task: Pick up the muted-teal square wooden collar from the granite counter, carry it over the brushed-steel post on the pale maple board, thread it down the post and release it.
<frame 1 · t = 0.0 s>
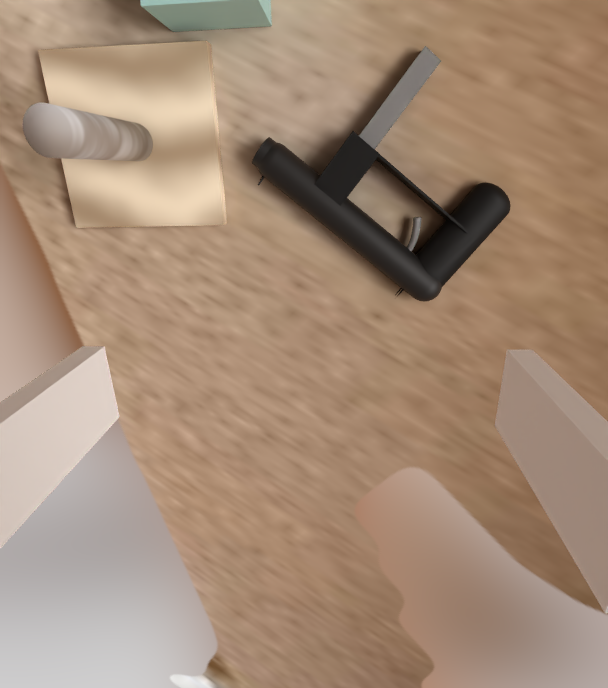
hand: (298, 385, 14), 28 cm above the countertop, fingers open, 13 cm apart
black toy gun: (392, 172, 38), on the countertop
peg stand: (141, 143, 38), on the countertop
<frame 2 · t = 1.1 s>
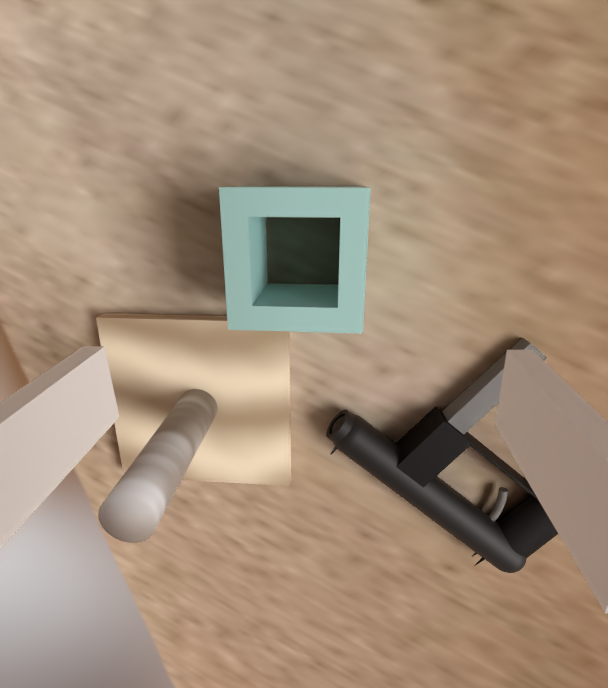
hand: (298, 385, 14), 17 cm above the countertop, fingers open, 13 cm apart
black toy gun: (476, 438, 35), on the countertop
peg stand: (202, 399, 35), on the countertop
collar: (302, 248, 30), on the countertop
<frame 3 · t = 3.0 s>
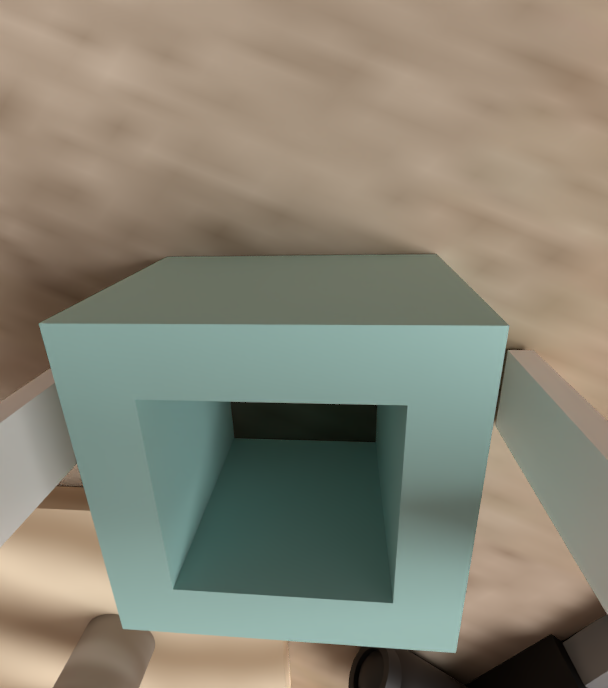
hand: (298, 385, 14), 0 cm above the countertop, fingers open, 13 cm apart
peg stand: (133, 611, 20), on the countertop
collar: (301, 376, 14), on the countertop
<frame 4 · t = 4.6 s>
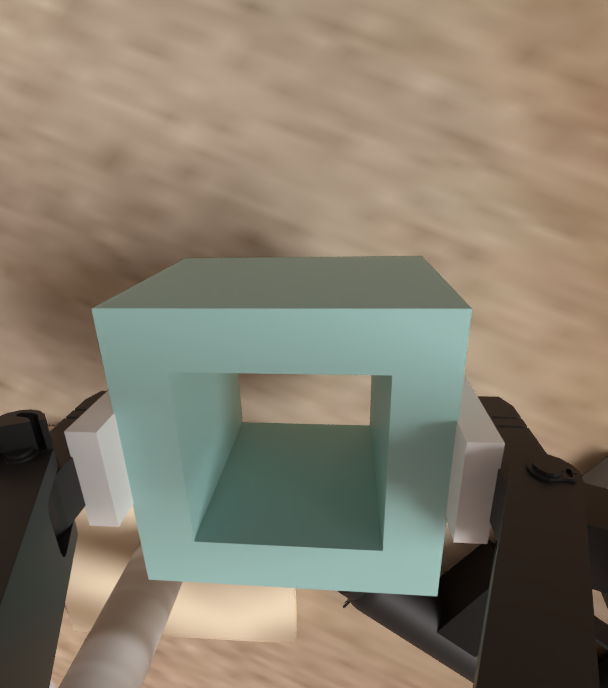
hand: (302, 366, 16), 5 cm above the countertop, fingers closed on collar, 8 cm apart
black toy gun: (542, 574, 25), on the countertop
peg stand: (174, 532, 25), on the countertop
collar: (303, 365, 16), point 5 cm above the countertop, touching gripper
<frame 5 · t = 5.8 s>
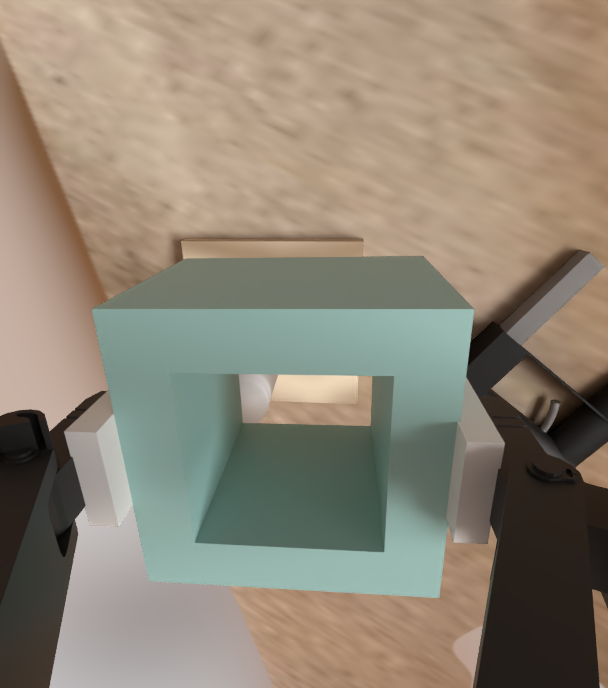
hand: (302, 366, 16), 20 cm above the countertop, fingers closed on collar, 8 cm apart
black toy gun: (529, 353, 36), on the countertop
peg stand: (276, 322, 37), on the countertop
collar: (304, 366, 16), point 20 cm above the countertop, touching gripper
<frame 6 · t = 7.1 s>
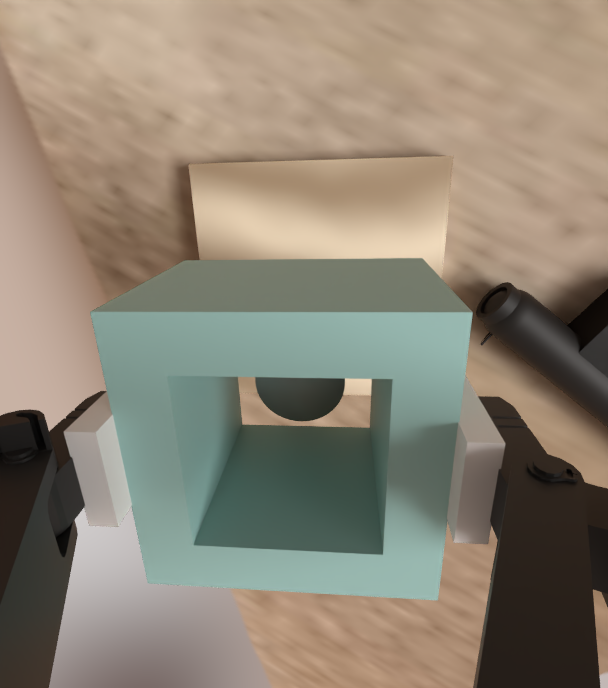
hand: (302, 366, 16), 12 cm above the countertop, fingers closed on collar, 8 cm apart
peg stand: (320, 284, 27), on the countertop
collar: (303, 367, 16), point 12 cm above the countertop, touching gripper
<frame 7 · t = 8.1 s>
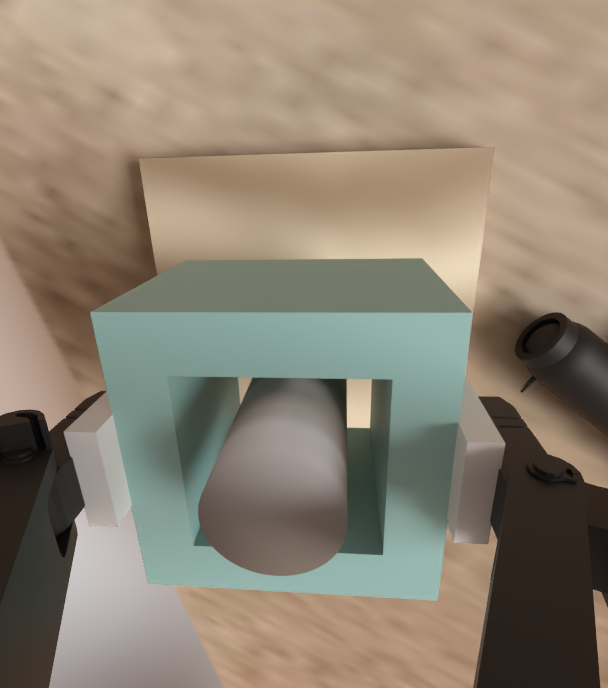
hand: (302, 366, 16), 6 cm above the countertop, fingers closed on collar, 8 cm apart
peg stand: (314, 313, 21), on the countertop
collar: (303, 368, 16), point 5 cm above the countertop, touching gripper
when the fingers open (3 cm above the countertop, at t = 9.1 s): collar drops 1 cm, resting on peg stand.
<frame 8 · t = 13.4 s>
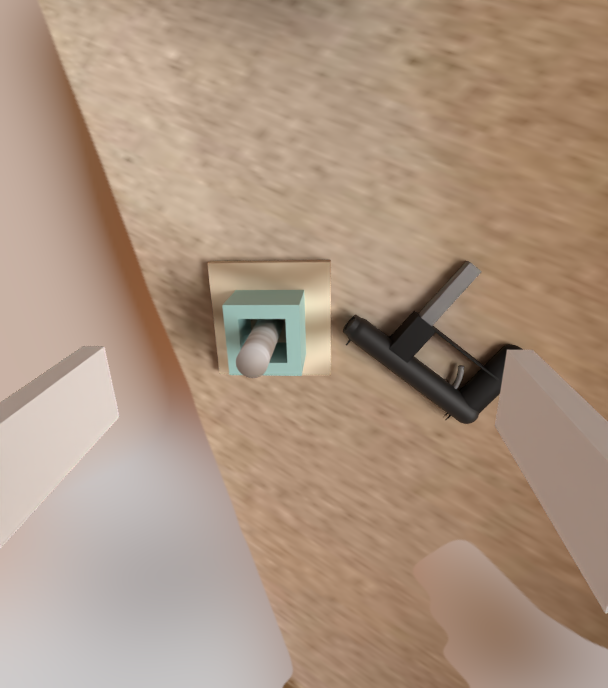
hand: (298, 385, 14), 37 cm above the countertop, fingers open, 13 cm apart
black toy gun: (442, 333, 52), on the countertop
peg stand: (272, 318, 53), on the countertop
collar: (271, 322, 52), point 1 cm above the countertop, touching peg stand
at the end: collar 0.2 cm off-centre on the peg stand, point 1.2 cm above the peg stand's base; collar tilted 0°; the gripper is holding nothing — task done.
